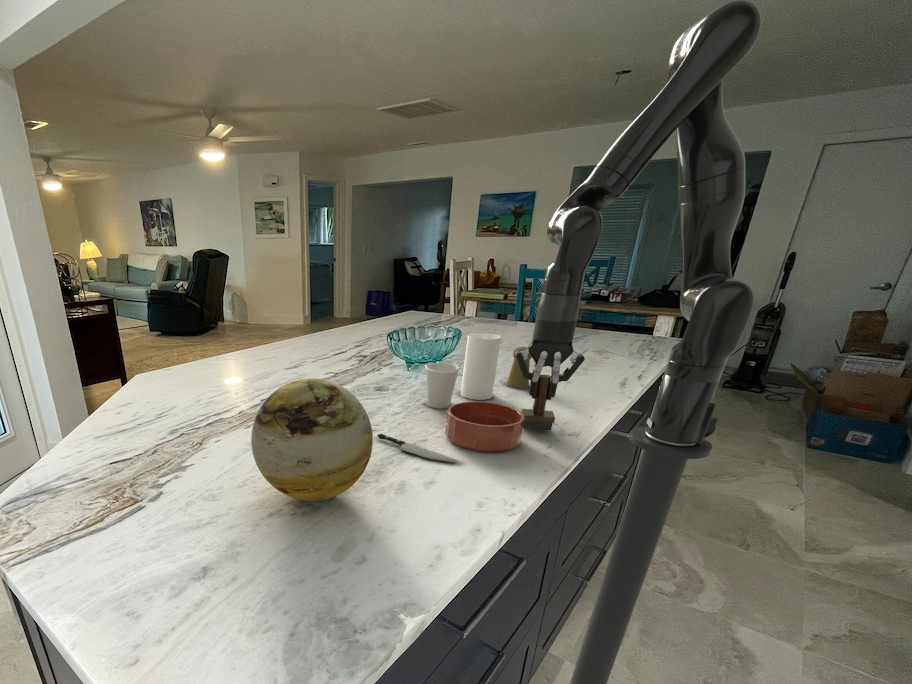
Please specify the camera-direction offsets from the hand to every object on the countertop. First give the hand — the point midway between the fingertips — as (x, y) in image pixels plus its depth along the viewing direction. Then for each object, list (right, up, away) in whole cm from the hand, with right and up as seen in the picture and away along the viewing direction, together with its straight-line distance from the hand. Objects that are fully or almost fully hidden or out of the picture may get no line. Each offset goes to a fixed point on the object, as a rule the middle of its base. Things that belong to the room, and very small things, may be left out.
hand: (541, 397), depth 102 cm
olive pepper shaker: (+10, +7, +34) cm, 36 cm away
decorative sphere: (-50, -19, -21) cm, 57 cm away
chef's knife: (-29, -12, -6) cm, 32 cm away
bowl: (-13, -9, -1) cm, 16 cm away
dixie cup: (-17, 0, +20) cm, 26 cm away
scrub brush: (0, -6, +3) cm, 7 cm away
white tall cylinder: (-5, +3, +26) cm, 27 cm away
